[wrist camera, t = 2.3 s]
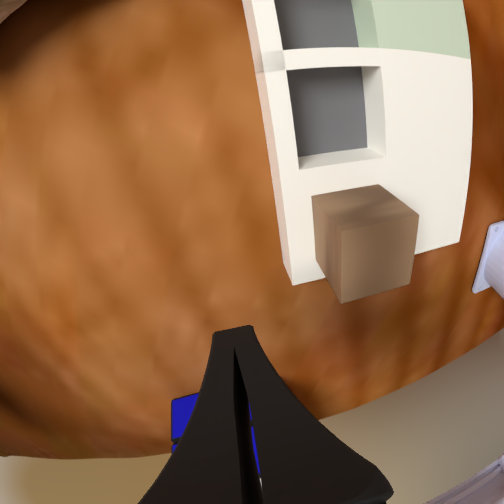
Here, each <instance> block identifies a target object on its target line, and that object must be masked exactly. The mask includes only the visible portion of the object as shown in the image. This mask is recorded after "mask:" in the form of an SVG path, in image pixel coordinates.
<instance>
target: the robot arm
mask: <svg viewBox="0 0 504 504" xmlns="http://www.w3.org/2000/svg"><path fill="white" fill-rule="evenodd" d="M491 286H492V287H493V288H494V289H495V291H496V292H497V293H498V294H499V295H500V296H501V297H502V298H503V299H504V221H501V222H497V223H494V224H491V225H490V226H489V228H488V232H487V237H486V241H485V245H484V249H483V253H482V257H481V261H480V264H479V268H478V271H477V275H476V278H475V281H474V285H473V288H472V292H473V293H477V292H480V291H482V290H484V289H486V288H489V287H491ZM249 404H250V408H249ZM250 411H251V417H252V423H253V430H254V436H255V443H256V449H257V456H258V463H259V470H260V477H261V481H260V477H259V472H258V468H257V463H256V458H255V453H254V448H253V441H252V430H251V419H250ZM261 484H262V486H261ZM393 493H394V491H393V489H392V487H391V485H390V483H389V482H388V480H387V479H386V477H385V476H384V475H383V474H382V473H381V471H380V470H379V469H378V468H377V467H376V466H375V465H374V464H372V463H371V462H369V461H368V460H366V459H364V458H363V457H362V456H361V455H359V454H358V453H356V452H355V451H354V450H352V449H351V448H350V447H348V446H347V445H346V444H344V443H343V442H342V441H341V440H339V439H338V438H337V437H336V436H335V435H334V434H333V433H331V432H330V431H329V430H328V429H327V428H326V427H325V426H324V425H322V424H321V423H320V422H319V421H318V420H317V419H316V418H315V417H314V416H313V415H312V414H311V413H310V412H309V411H308V410H307V409H306V408H305V407H304V405H303V404H302V403H301V402H300V401H299V400H298V399H297V398H296V396H295V395H294V394H293V393H292V392H291V390H290V389H289V388H288V387H287V385H286V384H285V383H284V381H283V380H282V379H281V377H280V376H279V375H278V373H277V372H276V370H275V369H274V367H273V366H272V364H271V363H270V361H269V360H268V358H267V356H266V355H265V353H264V351H263V349H262V347H261V345H260V343H259V341H258V339H257V337H256V334H255V332H254V328H253V326H251V325H246V326H242V327H237V328H232V329H227V330H222V331H217V332H215V333H214V334H213V337H212V344H211V350H210V355H209V360H208V364H207V368H206V371H205V375H204V379H203V382H202V386H201V389H200V392H199V394H198V397H197V400H196V403H195V406H194V409H193V411H192V414H191V416H190V418H189V421H188V423H187V425H186V428H185V430H184V432H183V434H182V436H181V438H180V440H179V442H178V444H177V446H176V448H175V450H174V451H173V453H172V455H171V457H170V459H169V460H168V462H167V464H166V465H165V467H164V468H163V470H162V471H161V473H160V474H159V476H158V478H157V479H156V480H155V482H154V483H153V485H152V486H151V487H150V489H149V490H148V491H147V493H146V494H145V495H144V496H143V498H142V499H141V500H140V502H139V503H138V504H386V501H387V500H388V499H389V498H390V497H391V496H392V495H393ZM424 504H504V453H503V454H502V455H501V456H500V457H498V459H497V460H495V461H494V462H492V463H491V464H490V465H488V466H487V467H485V468H484V469H482V470H481V471H479V472H478V473H476V474H475V475H473V476H472V477H470V478H468V479H467V480H465V481H464V482H462V483H460V484H459V485H457V486H455V487H454V488H452V489H450V490H448V491H447V492H445V493H443V494H441V495H439V496H437V497H436V498H434V499H432V500H430V501H428V502H426V503H424Z"/></svg>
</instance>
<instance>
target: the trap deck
mask: <svg viewBox="0 0 504 504" xmlns="http://www.w3.org/2000/svg"><path fill="white" fill-rule="evenodd" d="M242 2H243V7H244V12H245V17H246V23H247V28H248V34H249V39H250V45H251V50H252V56H253V62H254V68H255V73H256V79H257V85H258V91H259V97H260V103H261V110H262V116H263V122H264V129H265V135H266V142H267V148H268V155H269V162H270V168H271V175H272V182H273V189H274V196H275V204H276V211H277V218H278V226H279V233H280V241H281V249H282V257H283V263H284V266H285V268H286V271H287V273H288V275H289V278H290V280H291V282H292V285H297V284H301V283H306V282H310V281H314V280H318V279H322V278H326V277H325V275H324V273H323V272H322V270H321V268H320V266H319V265H318V263H317V261H316V259H315V241H314V226H313V212H312V200H311V196H313V195H318V194H324V193H329V192H335V191H341V190H346V189H352V188H358V187H364V186H370V185H376V184H379V185H380V186H382V187H383V188H385V189H386V190H387V191H389V192H390V193H391V194H393V195H394V196H395V197H397V198H398V199H399V200H401V201H402V202H403V203H405V204H406V205H407V206H409V207H410V208H411V209H412V210H414V211H415V212H416V213H418V214H419V223H418V232H417V240H416V247H415V254H418V253H422V252H425V251H429V250H432V249H436V248H439V247H443V246H446V245H450V244H453V243H457V242H459V239H460V234H461V228H462V223H463V217H464V211H465V204H466V197H467V189H468V181H469V171H470V160H471V145H472V116H473V102H472V73H471V59H470V49H469V40H468V32H467V25H466V18H465V12H464V6H463V1H462V0H242ZM415 254H414V255H415Z"/></svg>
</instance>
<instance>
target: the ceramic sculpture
mask: <svg viewBox="0 0 504 504" xmlns="http://www.w3.org/2000/svg"><path fill="white" fill-rule="evenodd" d="M26 1H27V0H0V23H1V22H2V21H3V20H5V19H6V18H7V17H8V16H9V15H10V14H11V13H12V12H14V11H15V10H16V9H18V8H19V7H20V6H22V5H23V4H24V3H25V2H26Z"/></svg>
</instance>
